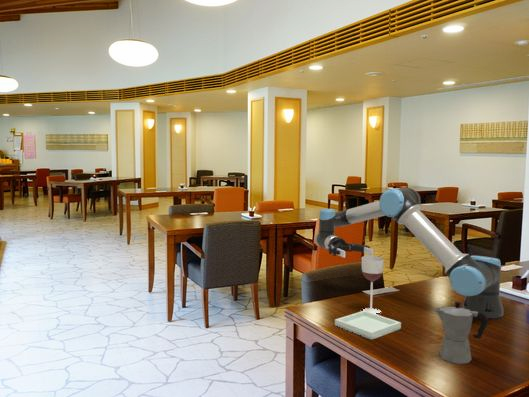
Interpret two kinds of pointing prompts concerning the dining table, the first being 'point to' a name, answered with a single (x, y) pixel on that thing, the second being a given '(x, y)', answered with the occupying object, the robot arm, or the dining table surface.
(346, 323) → the tray
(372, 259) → the wineglass
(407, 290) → the dining table surface
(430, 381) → the dining table surface
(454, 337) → the coffeepot
